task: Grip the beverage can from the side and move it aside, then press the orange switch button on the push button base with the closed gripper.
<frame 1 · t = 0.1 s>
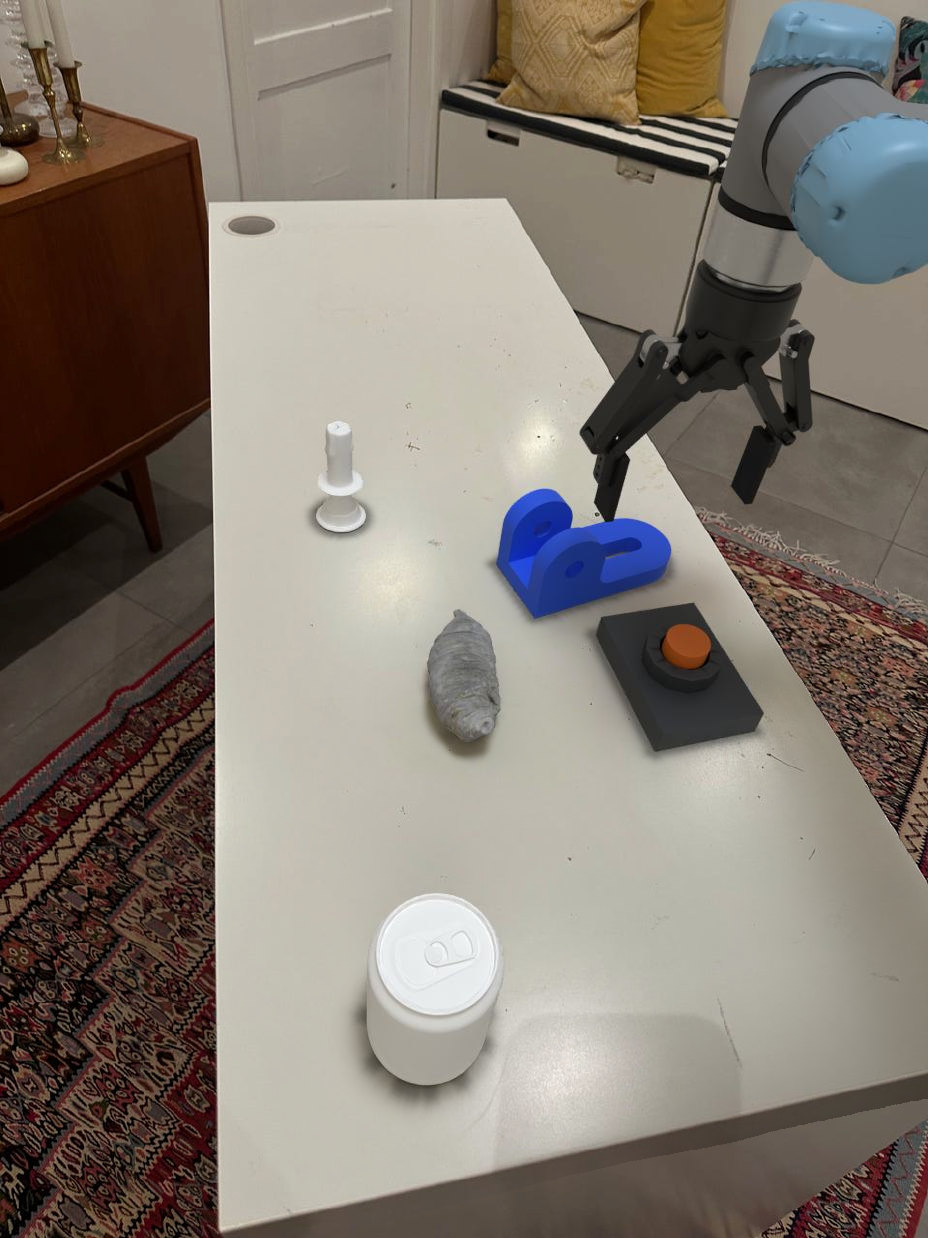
hand: (673, 503, 77), 14 cm above the table, tool pointing down, fingers open, 13 cm apart
beverage can: (426, 1024, 59), on the table
candle: (341, 518, 94), on the table
push button base: (671, 681, 82), on the table
bracket: (589, 570, 92), on the table
grey ridged oval piece: (459, 693, 79), on the table
switch: (686, 646, 78), point 5 cm above the table, slide at 0.1 cm
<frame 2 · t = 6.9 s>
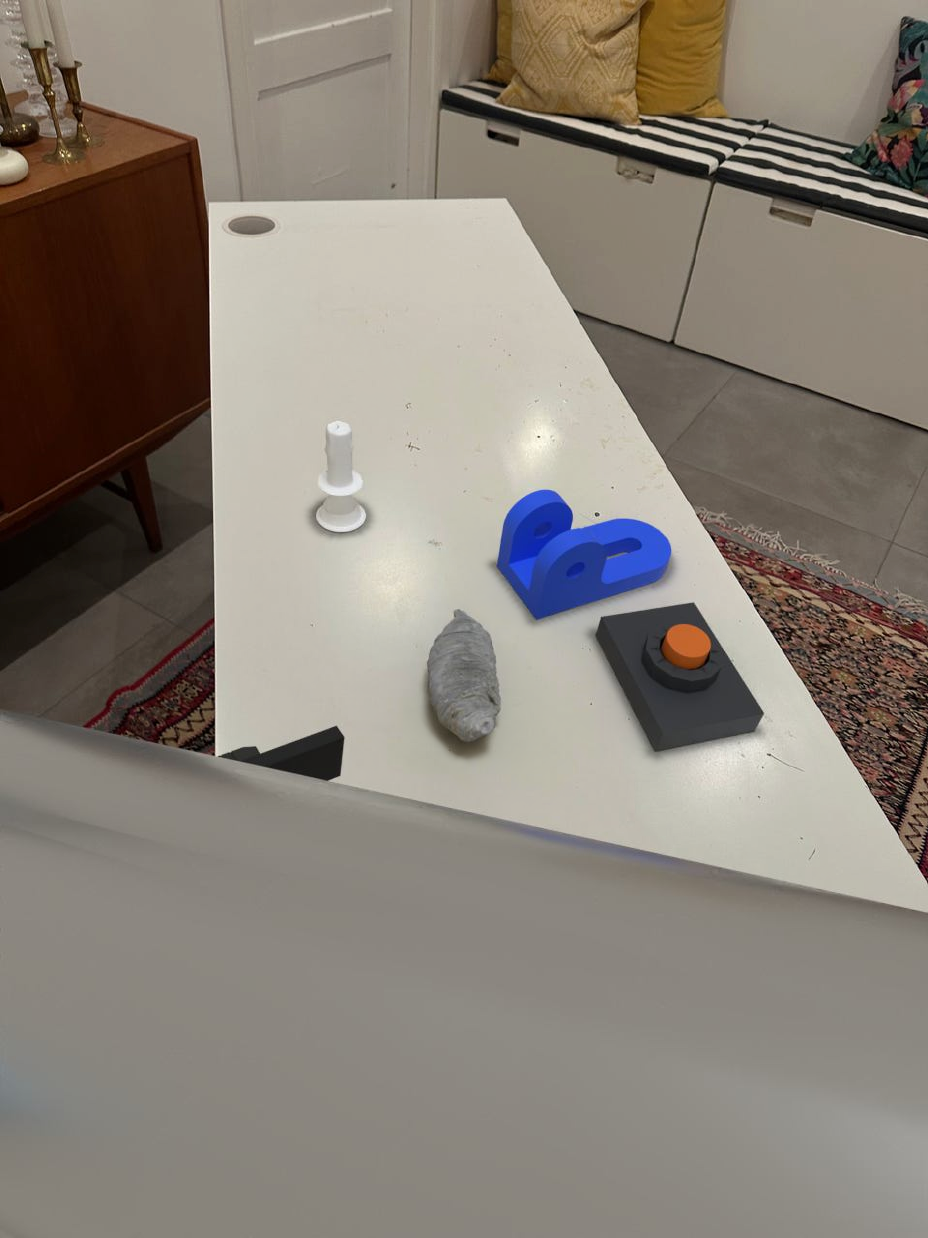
hand: (418, 867, 35), 29 cm above the table, tool horizontal, fingers open, 13 cm apart
nothing on the table moved.
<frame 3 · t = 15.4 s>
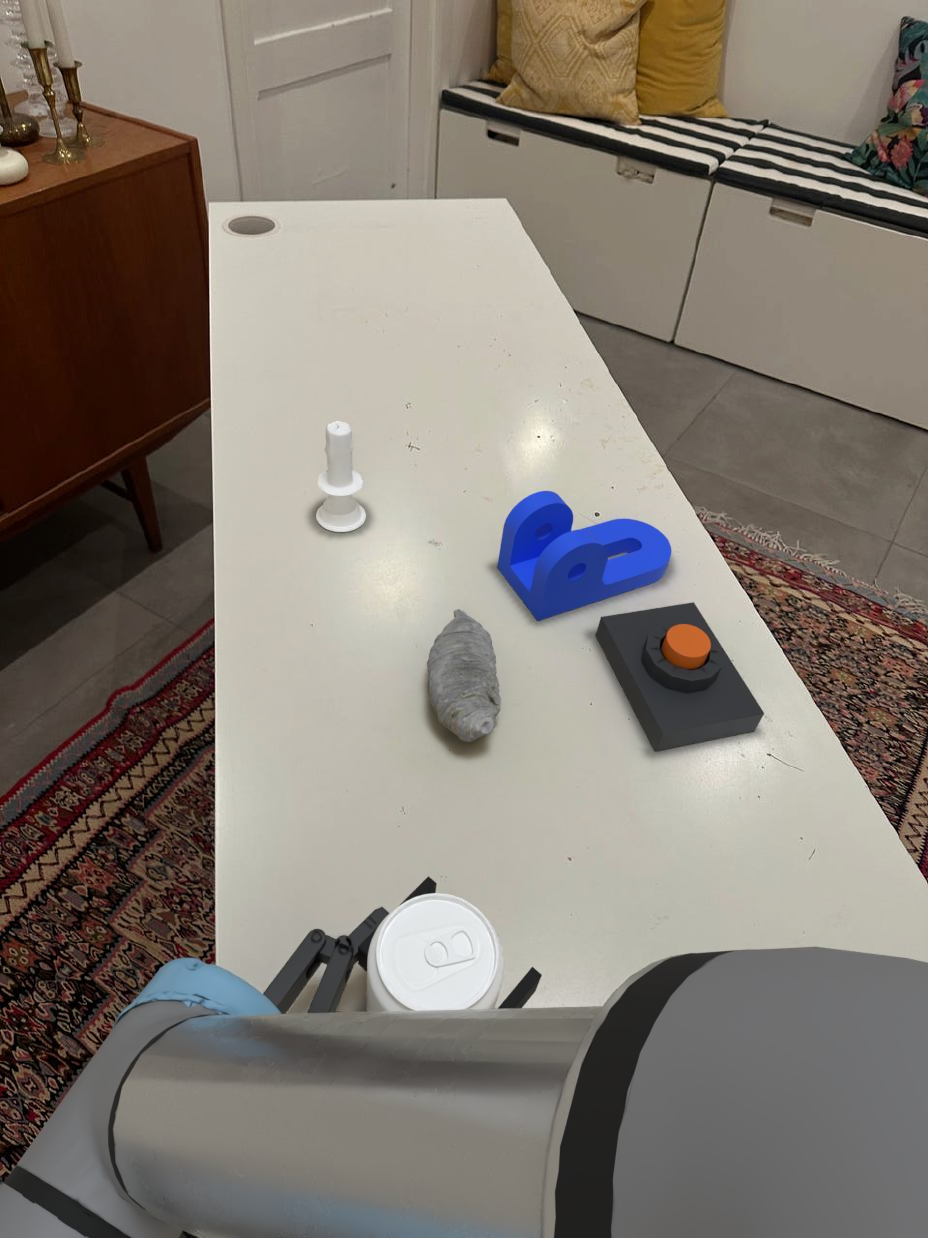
hand: (480, 932, 57), 6 cm above the table, tool horizontal, fingers closed on beverage can, 8 cm apart
beverage can: (426, 1024, 59), on the table, touching gripper
everything else where it was.
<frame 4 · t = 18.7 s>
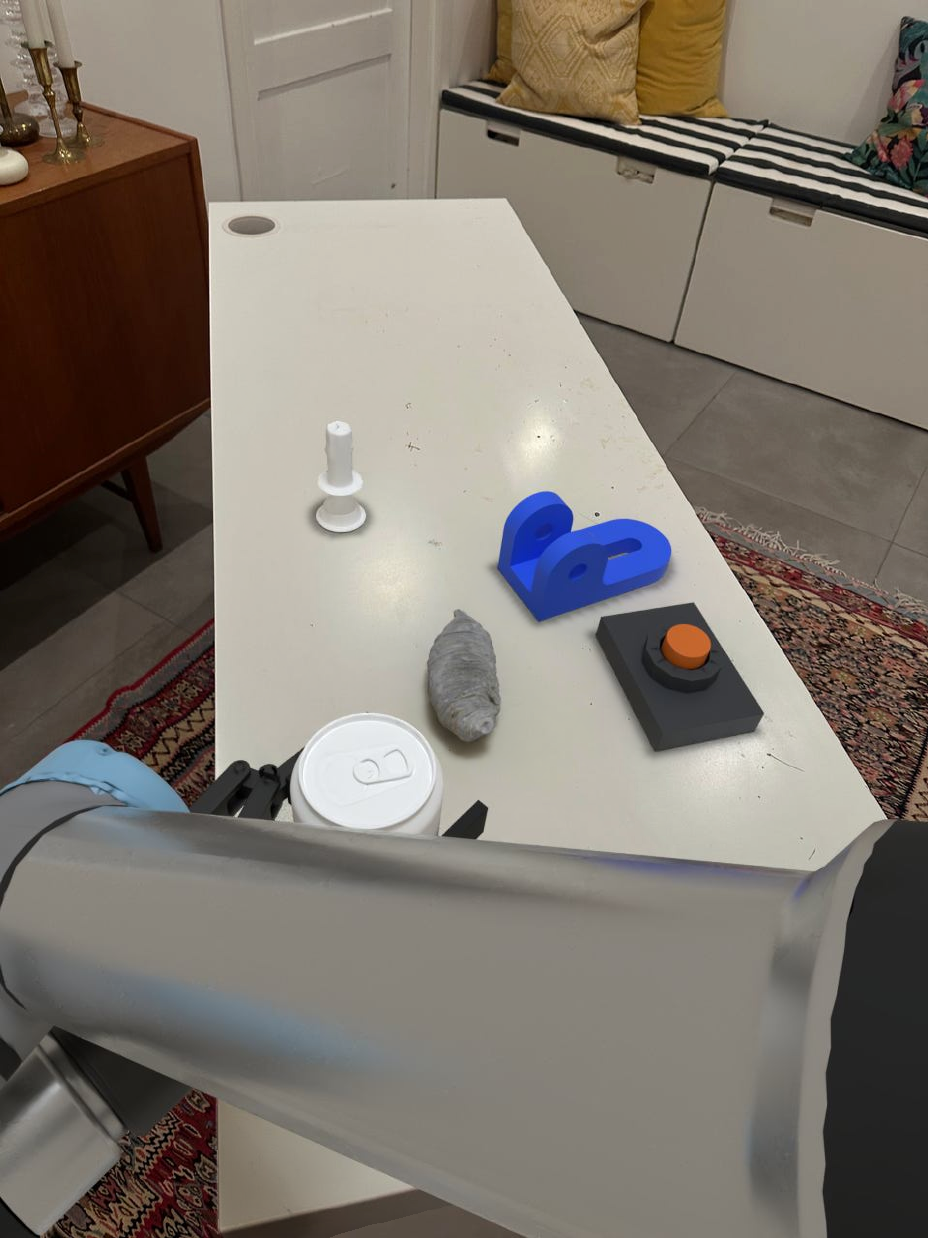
hand: (424, 770, 51), 18 cm above the table, tool horizontal, fingers closed on beverage can, 8 cm apart
beverage can: (366, 877, 54), point 11 cm above the table, touching gripper
everything else where it was.
when the fingers open (6 cm above the table, at t = 22.5 s): beverage can stays where it is, on the table.
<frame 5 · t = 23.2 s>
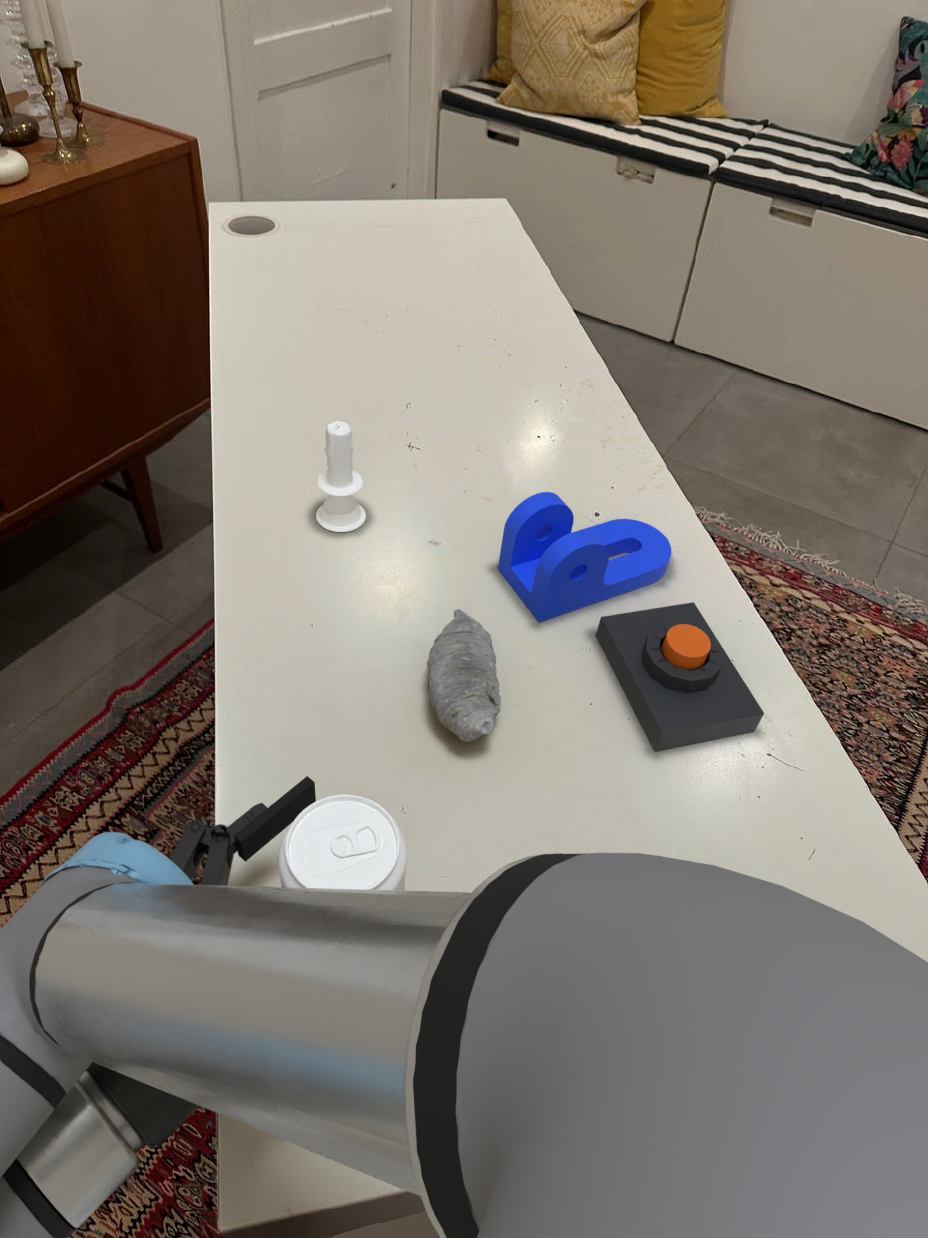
hand: (379, 848, 60), 7 cm above the table, tool horizontal, fingers open, 13 cm apart
beverage can: (345, 926, 63), on the table
everything else where it was.
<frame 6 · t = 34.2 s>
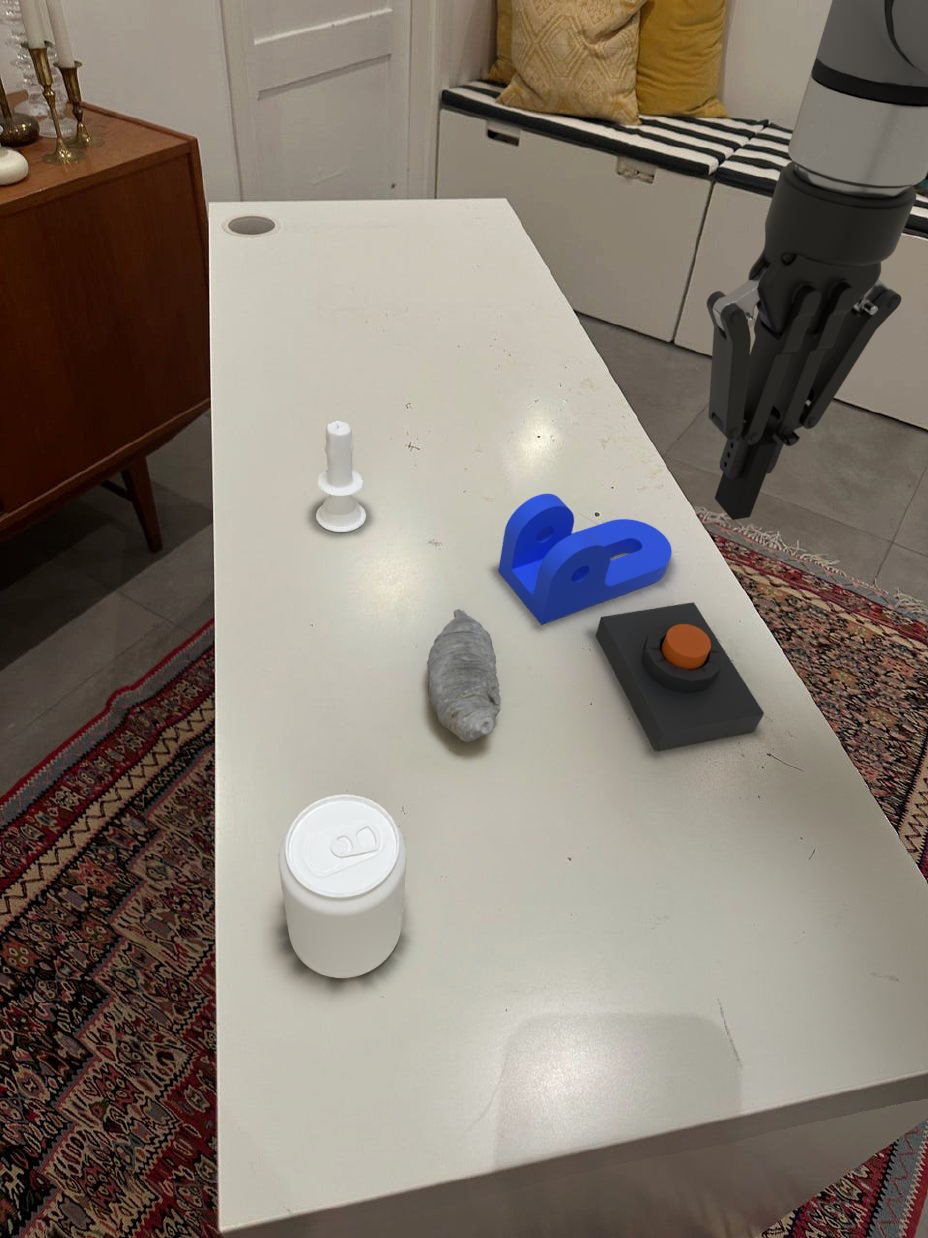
hand: (731, 507, 65), 22 cm above the table, tool pointing down, fingers closed
nothing on the table moved.
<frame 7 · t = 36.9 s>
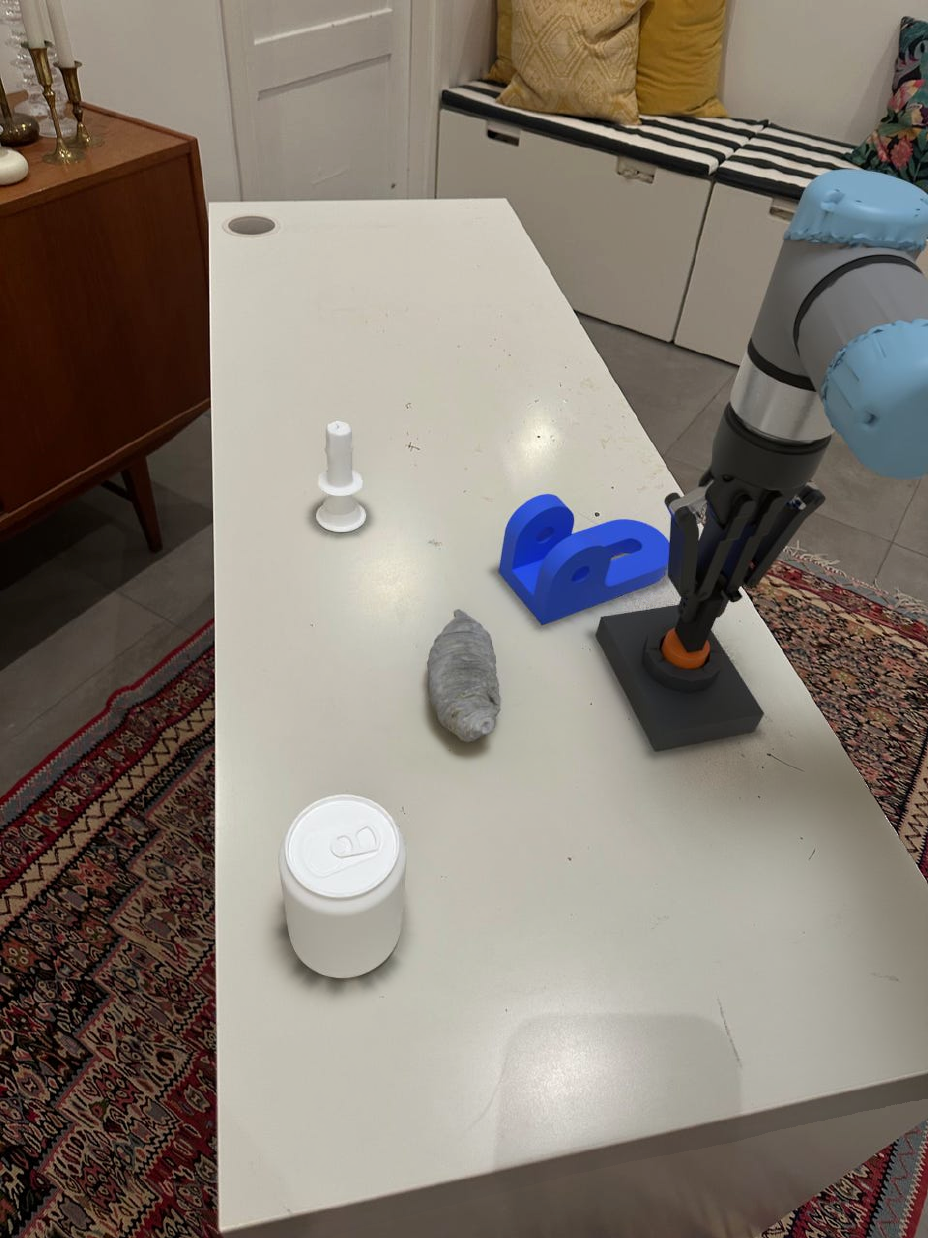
hand: (688, 640, 78), 6 cm above the table, tool pointing down, fingers closed
switch: (685, 649, 78), point 5 cm above the table, slide at -0.3 cm, touching gripper
everything else where it was.
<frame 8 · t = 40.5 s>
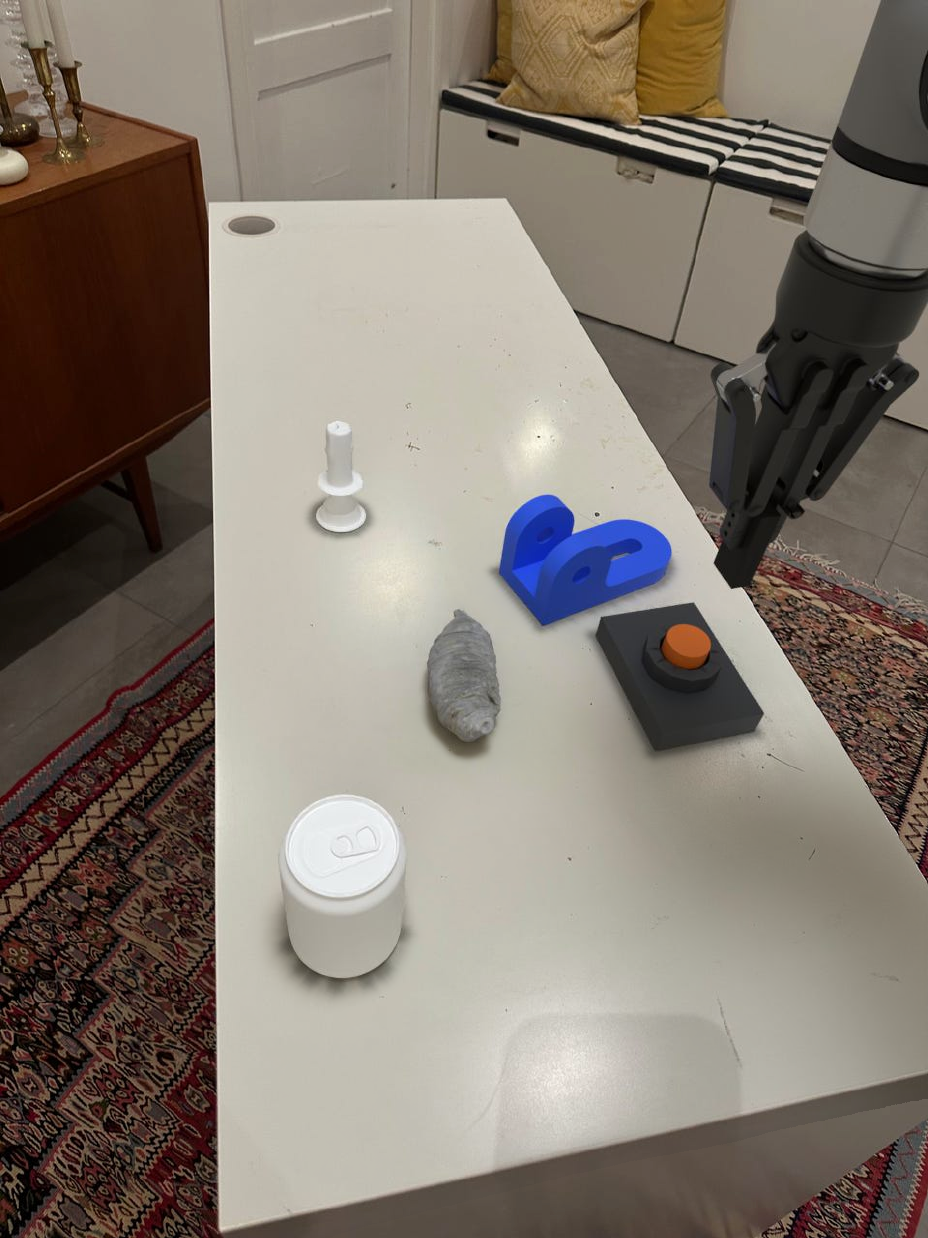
hand: (731, 574, 62), 20 cm above the table, tool pointing down, fingers closed
switch: (686, 646, 78), point 5 cm above the table, slide at 0.1 cm
everything else where it was.
at the end: beverage can inside the target area (0.0 cm from its centre), on the table; switch pushed in 1.0 cm at the most during the clip, back to where it started at the end; switch slide at 0.1 cm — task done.
